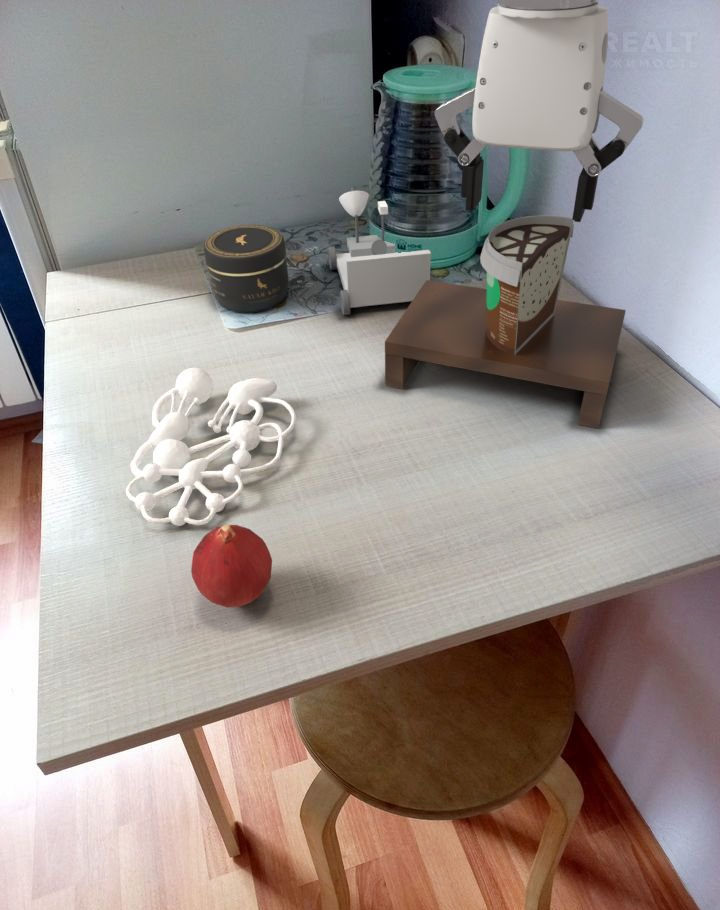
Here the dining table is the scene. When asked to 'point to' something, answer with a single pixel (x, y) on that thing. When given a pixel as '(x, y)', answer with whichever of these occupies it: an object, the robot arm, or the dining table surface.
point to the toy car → (376, 264)
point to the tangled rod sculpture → (176, 455)
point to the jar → (247, 267)
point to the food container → (523, 276)
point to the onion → (231, 566)
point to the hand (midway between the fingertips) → (524, 210)
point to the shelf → (540, 360)
